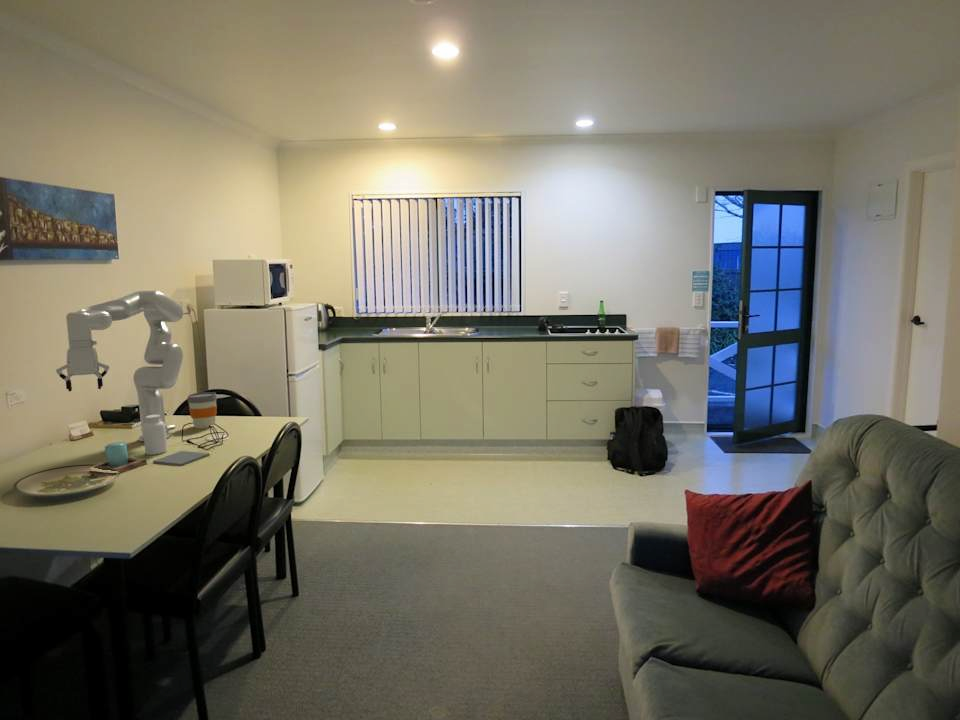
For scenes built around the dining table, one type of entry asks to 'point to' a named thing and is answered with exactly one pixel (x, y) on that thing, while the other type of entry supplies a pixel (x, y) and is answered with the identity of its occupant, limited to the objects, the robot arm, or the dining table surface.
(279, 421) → the dining table surface
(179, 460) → the plate
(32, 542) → the dining table surface
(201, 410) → the reusable coffee cup
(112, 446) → the turquoise mug
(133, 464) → the brown square tray
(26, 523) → the dining table surface
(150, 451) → the pill bottle
